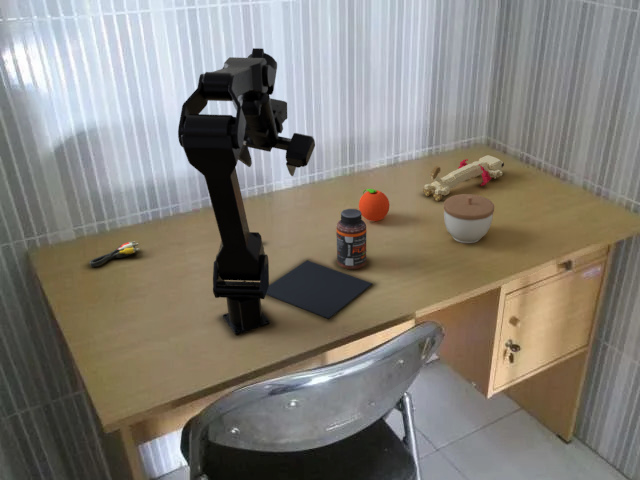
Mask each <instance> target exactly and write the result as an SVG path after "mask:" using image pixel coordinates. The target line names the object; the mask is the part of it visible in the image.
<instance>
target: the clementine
mask: <svg viewBox="0 0 640 480" xmlns="http://www.w3.org/2000/svg"><path fill="white" fill-rule="evenodd" d="M358 210H359V211H361V214H362V215H361V217H363V218H364V219H366V220H368V221H370V222H379V221H381V220H383V219H385V217H387V215H388V213H389V211H390V200H389V198H388V196H387V195H386V194H385V193H384V192H382V191H380V190H378V189H373V188H367V189H364V190H363V191H362V195H361V197H360V198H359V201H358Z"/></svg>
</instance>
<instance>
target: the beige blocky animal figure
mask: <svg viewBox="0 0 640 480" xmlns="http://www.w3.org/2000/svg"><path fill="white" fill-rule="evenodd" d="M467 161H469V159H468V158H465V159H462V161H460V162H459V166H458V167H457V169H455V170H453V171H451V172H449V173H447V175H445V176H442V177H440V176H439V174H440V172H441V167H440V166H438V165H436V166H433V168H432V171H431V174H430V179H431V180H432V181H433V182H431V183H426V184H424V188H422V192H423V193H424V196H425V197H430V196H431V195H432V194H433V195H432V196H433V198H434V201H436V202H439V201H441V200H443V196H448V195H449V194H450V190H451V189H454V188H456V187H457V186H459V184H462V183H464V182H466V181H468V180H469V179H475V178H476V177H478V176H481V177H482V181H481V184H479V187H484V186H486V185H487V184H488V183H489V182H490V181H491V180H492V178H494V180H496V179H497V178H499V177H502V176H503V171H502V169H503V168H504V167H505V163H504V161H502V160H501V159H500V158H497V157H495V156H492V155H484V156H483V157H480V158H478V160H475V161H473V162H472V163H471V162H470V163H467ZM433 191H434V193H433Z"/></svg>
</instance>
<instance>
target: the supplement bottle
mask: <svg viewBox="0 0 640 480" xmlns="http://www.w3.org/2000/svg"><path fill="white" fill-rule="evenodd" d="M362 217H363V216H362V214H361V211H360V210H359V209H357V208H346V209H345V208H344V209H343V210H342V211H340V220H338V221H337V223H336V226H335V227H336V229H335V230H336V231H335V233H336V261H337V264H338V266H340V267H341V268H343V269H347V270H358V269H361V268H362V267H364V266H365V265H366V263H367V223H366V222H365V221H364V220H363V218H362Z"/></svg>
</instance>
